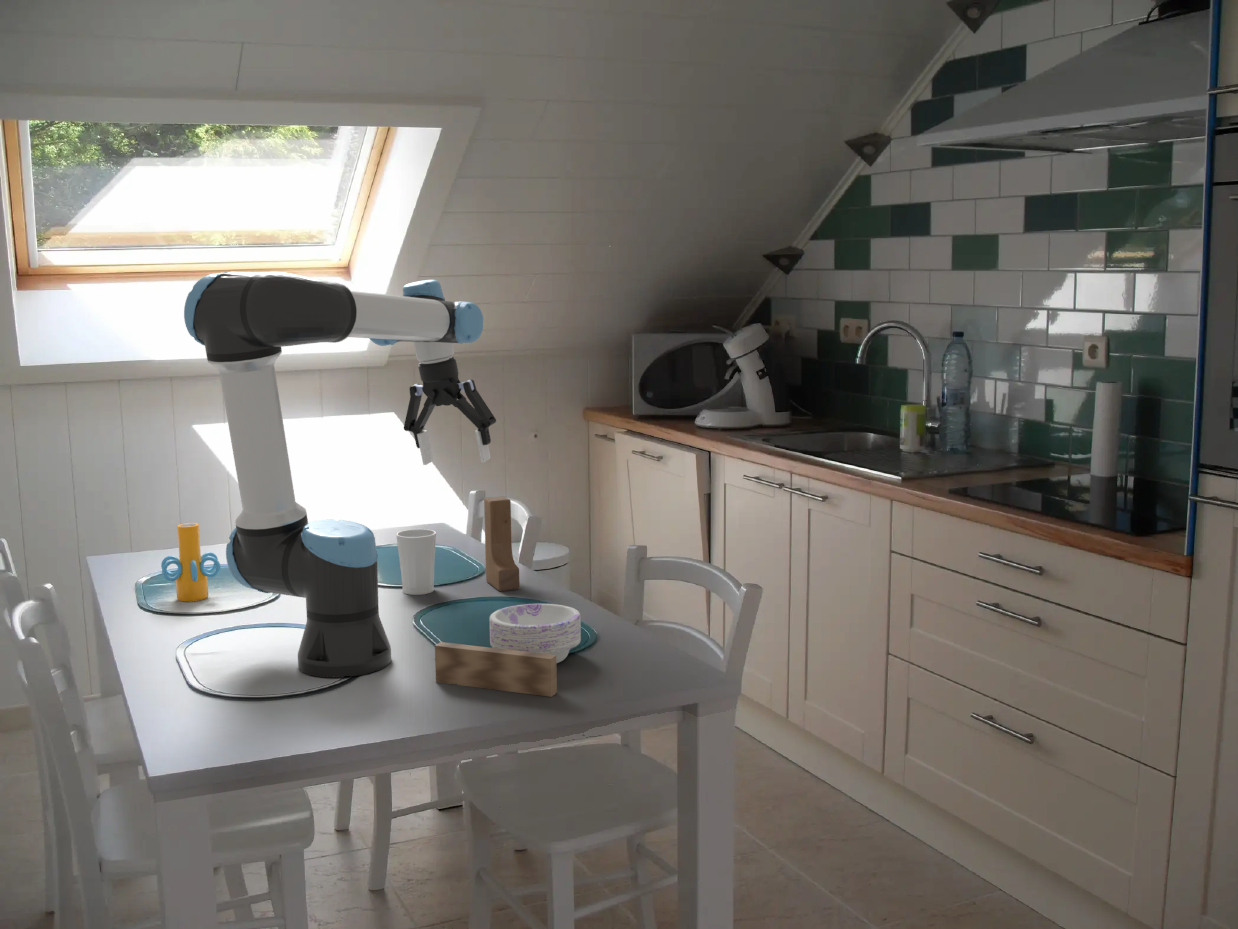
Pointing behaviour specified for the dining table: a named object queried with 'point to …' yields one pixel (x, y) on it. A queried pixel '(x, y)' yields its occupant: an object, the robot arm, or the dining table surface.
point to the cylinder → (190, 565)
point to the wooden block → (499, 545)
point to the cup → (417, 560)
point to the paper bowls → (536, 629)
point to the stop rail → (496, 669)
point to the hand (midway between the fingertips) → (456, 461)
